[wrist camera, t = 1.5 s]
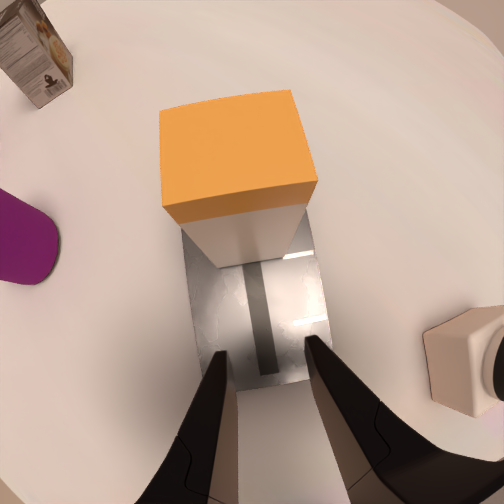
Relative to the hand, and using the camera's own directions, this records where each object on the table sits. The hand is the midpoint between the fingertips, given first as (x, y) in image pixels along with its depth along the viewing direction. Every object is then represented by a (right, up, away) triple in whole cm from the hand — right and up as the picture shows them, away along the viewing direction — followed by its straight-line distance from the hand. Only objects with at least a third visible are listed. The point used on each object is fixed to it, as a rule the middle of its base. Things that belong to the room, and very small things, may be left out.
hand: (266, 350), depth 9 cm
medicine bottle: (+19, -6, +12) cm, 23 cm away
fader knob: (-1, +4, +13) cm, 14 cm away
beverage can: (-23, +3, +15) cm, 28 cm away
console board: (-1, +3, +15) cm, 15 cm away
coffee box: (-29, +28, +21) cm, 46 cm away
